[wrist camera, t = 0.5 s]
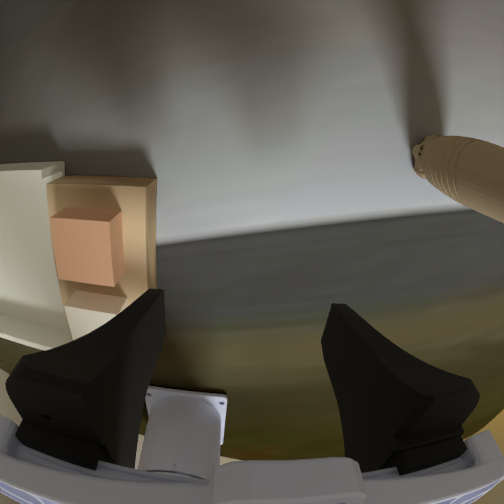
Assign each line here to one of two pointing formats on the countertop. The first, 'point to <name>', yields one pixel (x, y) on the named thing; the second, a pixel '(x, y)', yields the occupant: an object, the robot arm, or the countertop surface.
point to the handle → (464, 171)
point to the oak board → (133, 226)
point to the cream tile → (91, 311)
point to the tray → (29, 258)
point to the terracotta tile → (88, 245)
